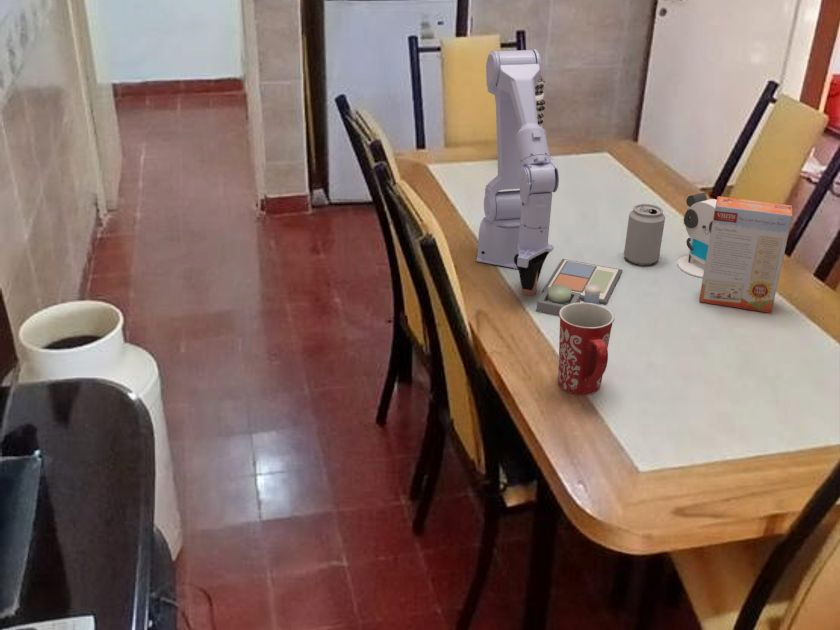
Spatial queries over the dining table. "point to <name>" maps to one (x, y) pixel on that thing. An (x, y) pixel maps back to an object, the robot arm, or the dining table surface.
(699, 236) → the panda figurine
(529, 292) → the terracotta marker
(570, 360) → the mug
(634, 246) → the can
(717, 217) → the cracker box
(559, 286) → the button
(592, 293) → the slate blue marker
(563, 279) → the colour zone board
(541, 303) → the button collar
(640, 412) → the dining table surface
